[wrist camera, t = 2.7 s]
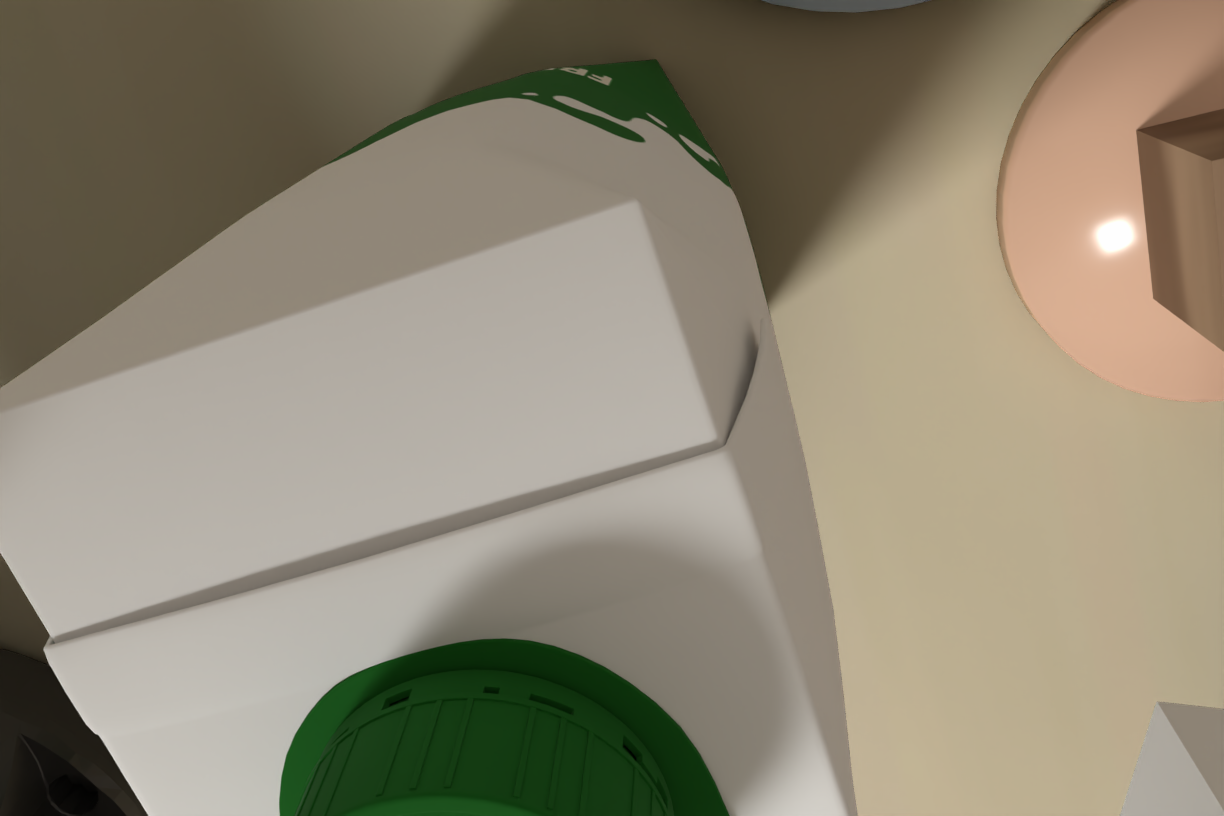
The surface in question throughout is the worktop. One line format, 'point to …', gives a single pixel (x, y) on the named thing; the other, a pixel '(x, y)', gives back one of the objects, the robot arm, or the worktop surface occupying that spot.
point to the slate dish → (845, 4)
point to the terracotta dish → (1109, 192)
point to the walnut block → (1186, 218)
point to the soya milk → (445, 489)
